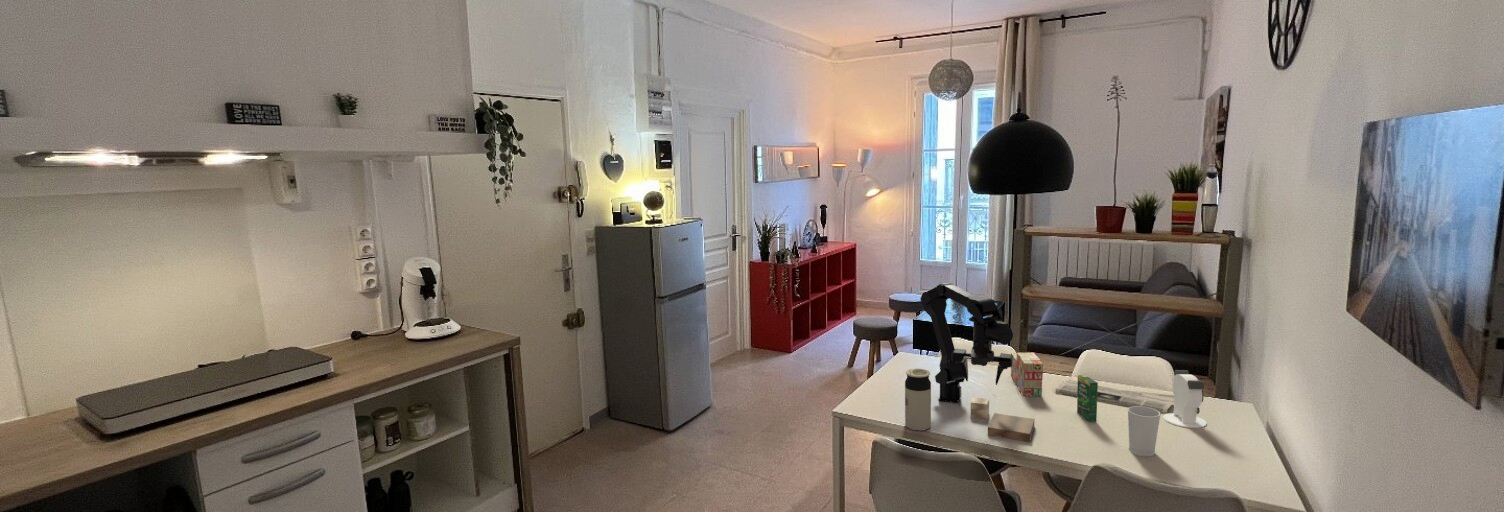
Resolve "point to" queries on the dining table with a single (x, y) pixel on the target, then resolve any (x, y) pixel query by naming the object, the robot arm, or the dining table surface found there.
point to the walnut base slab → (1011, 427)
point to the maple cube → (979, 407)
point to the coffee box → (1087, 398)
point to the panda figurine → (1186, 401)
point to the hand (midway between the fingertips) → (981, 382)
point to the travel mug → (918, 399)
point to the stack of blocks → (1027, 373)
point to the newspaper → (1122, 396)
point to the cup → (1143, 430)
